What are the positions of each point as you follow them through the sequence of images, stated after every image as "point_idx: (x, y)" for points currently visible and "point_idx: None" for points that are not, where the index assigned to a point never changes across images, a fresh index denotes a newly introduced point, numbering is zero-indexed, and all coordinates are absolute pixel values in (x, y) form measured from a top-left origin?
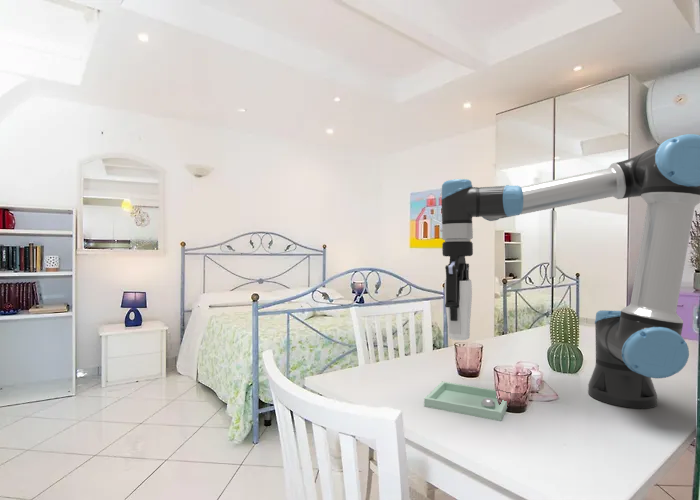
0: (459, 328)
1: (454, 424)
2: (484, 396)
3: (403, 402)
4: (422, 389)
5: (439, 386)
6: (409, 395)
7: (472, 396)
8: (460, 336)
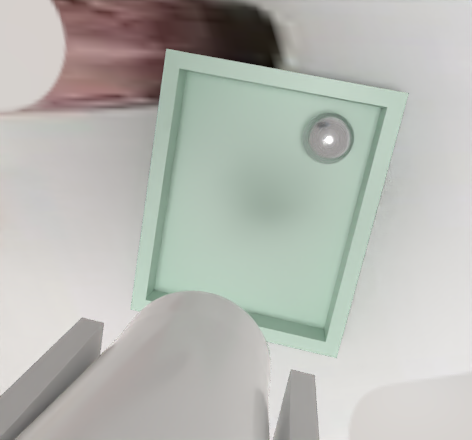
0: (316, 409)
1: (441, 243)
2: (174, 151)
3: None
4: None
5: None
6: None
7: (190, 193)
8: (270, 358)
